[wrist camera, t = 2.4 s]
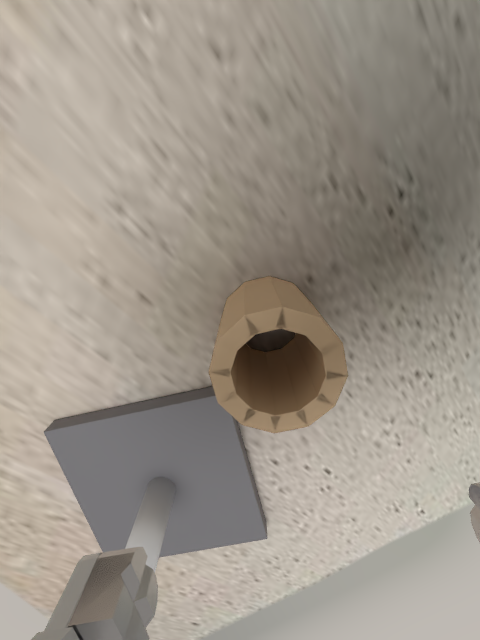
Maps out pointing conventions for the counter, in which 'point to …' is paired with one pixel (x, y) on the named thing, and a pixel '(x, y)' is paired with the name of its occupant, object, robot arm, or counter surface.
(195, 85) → the counter surface
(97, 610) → the robot arm
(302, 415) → the paper roll
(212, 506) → the roll holder
